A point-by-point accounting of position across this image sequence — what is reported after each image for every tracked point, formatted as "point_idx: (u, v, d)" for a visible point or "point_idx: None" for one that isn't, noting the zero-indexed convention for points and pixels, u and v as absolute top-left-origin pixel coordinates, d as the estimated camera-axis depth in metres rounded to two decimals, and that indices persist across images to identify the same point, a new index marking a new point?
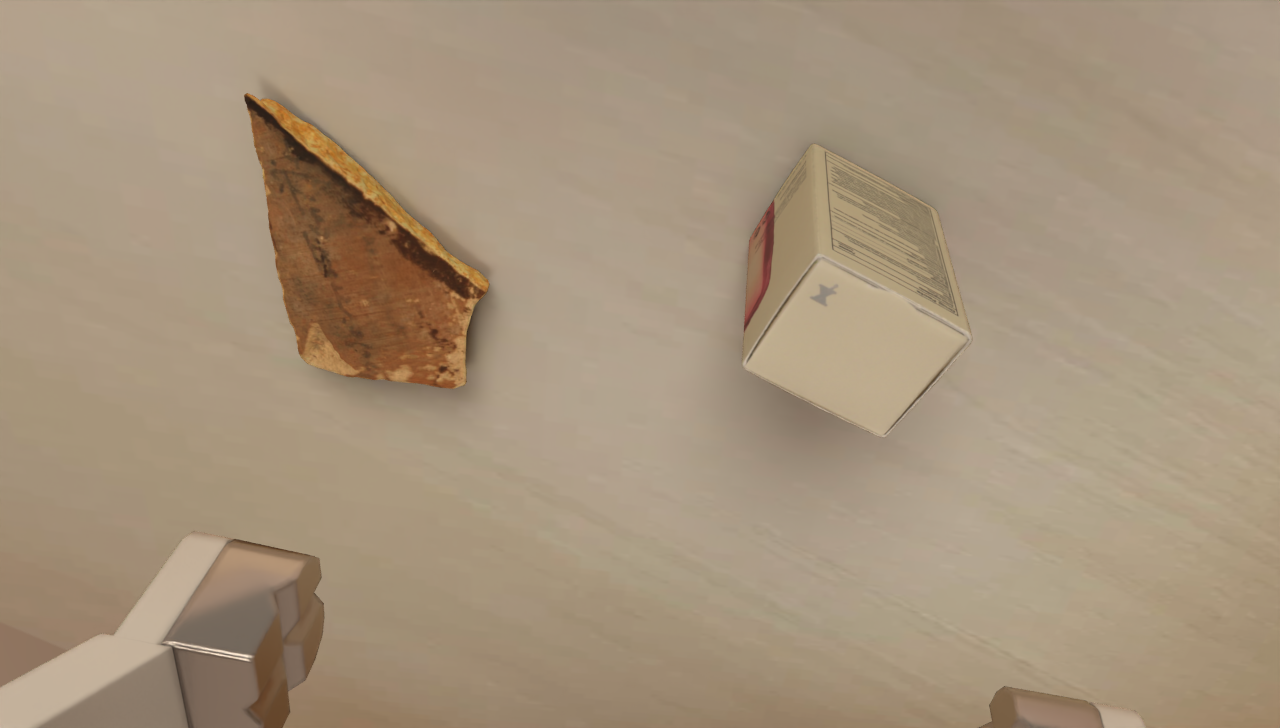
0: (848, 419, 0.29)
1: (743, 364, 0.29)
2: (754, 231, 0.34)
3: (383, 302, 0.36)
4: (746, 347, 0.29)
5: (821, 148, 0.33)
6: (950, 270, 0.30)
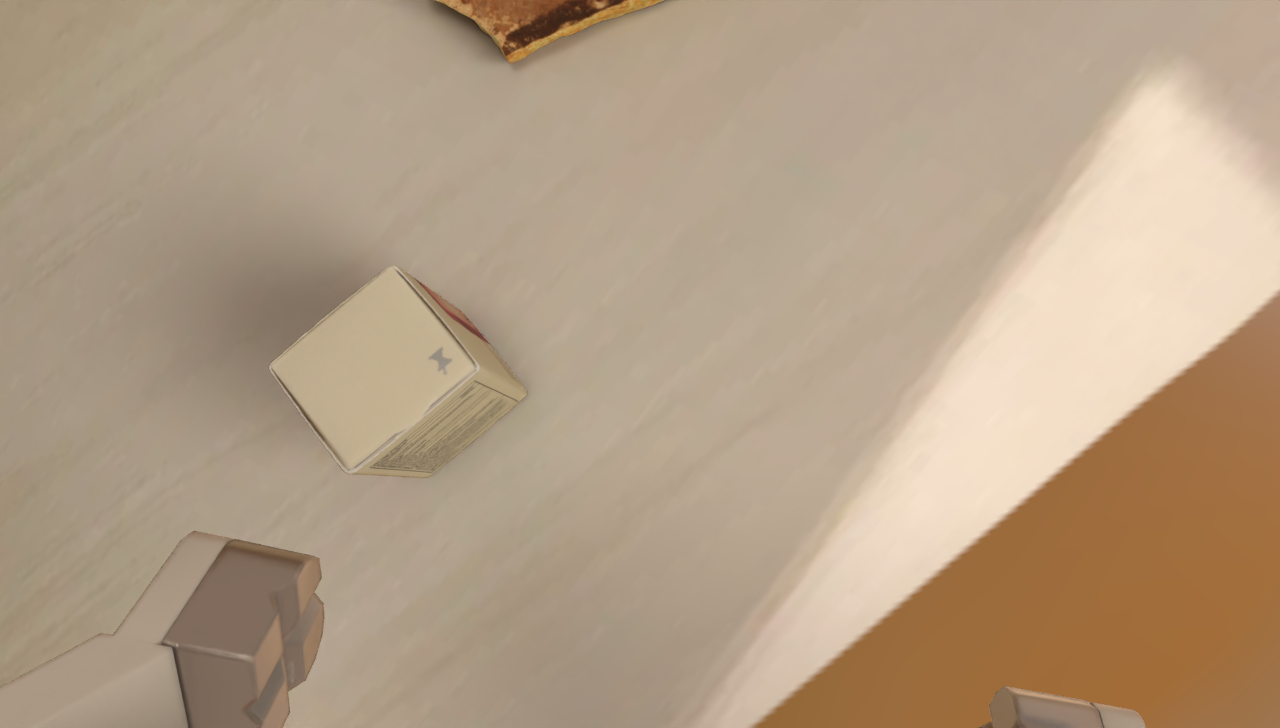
0: (300, 341, 0.30)
1: (394, 266, 0.30)
2: None
3: None
4: (407, 275, 0.30)
5: (521, 399, 0.37)
6: (393, 473, 0.33)
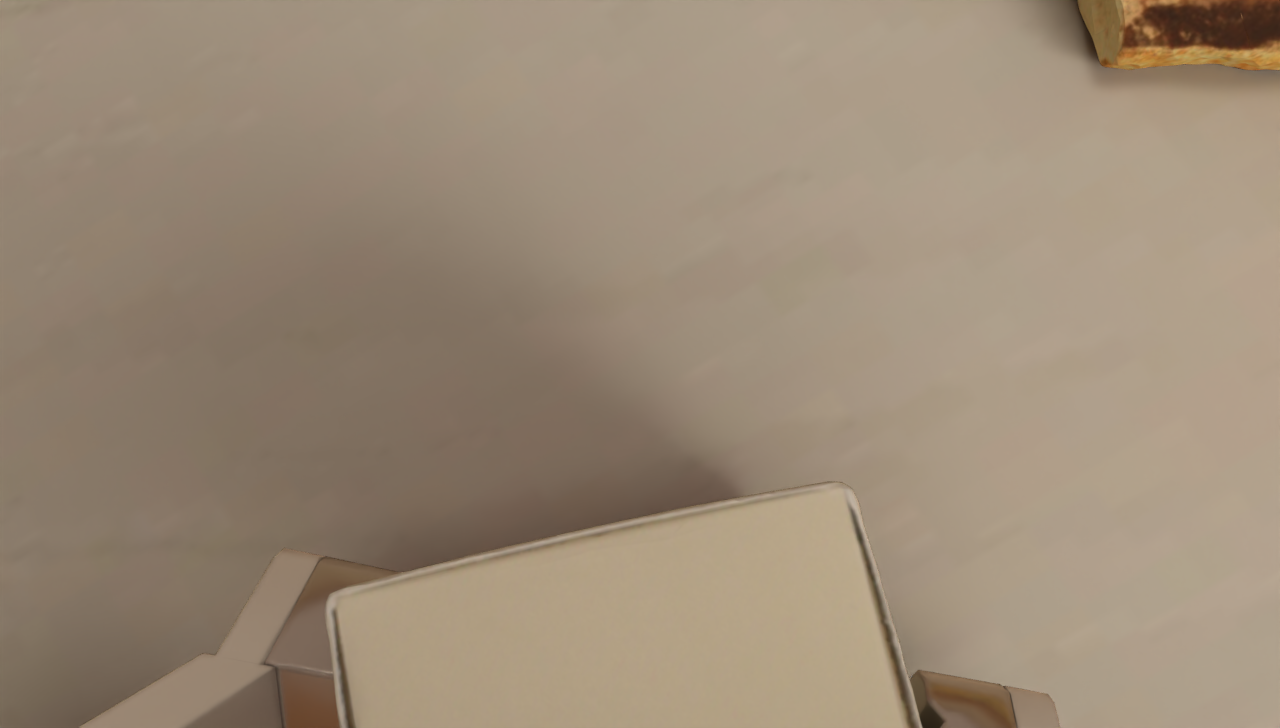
0: (460, 568, 0.09)
1: (850, 493, 0.09)
2: None
3: None
4: None
5: None
6: None
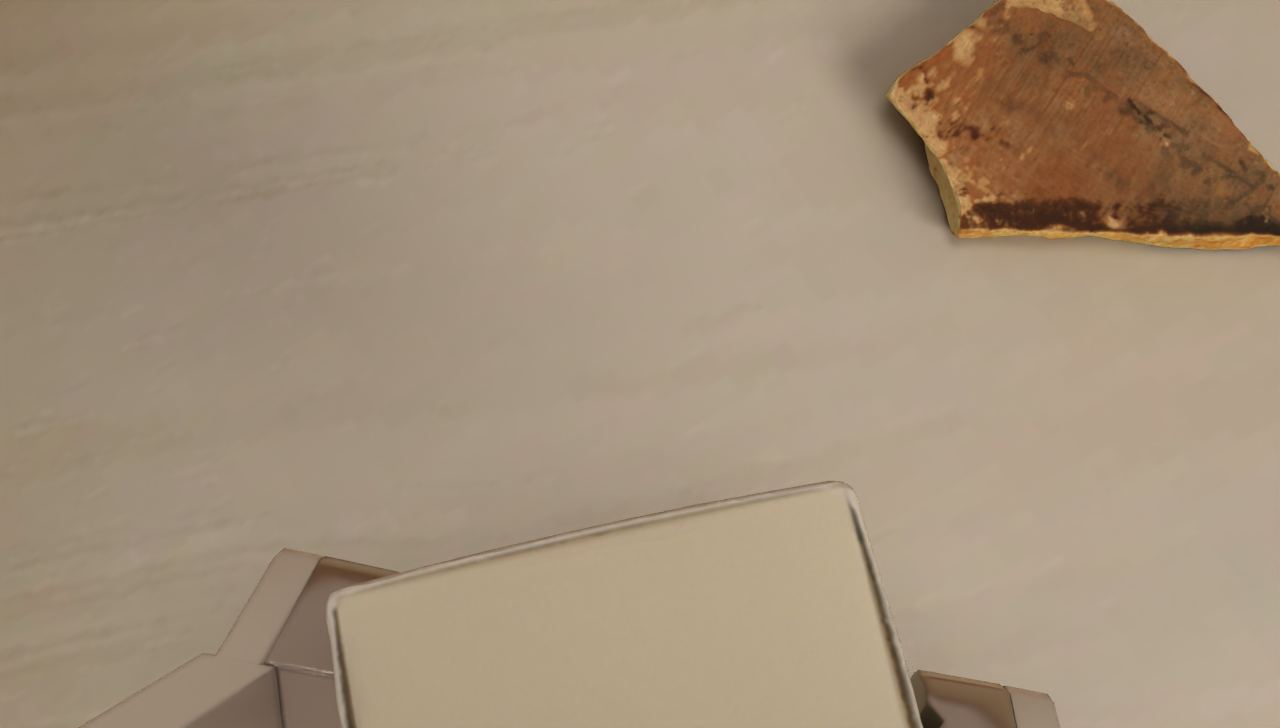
0: (460, 568, 0.09)
1: (851, 493, 0.09)
2: None
3: (1052, 123, 0.27)
4: None
5: None
6: None
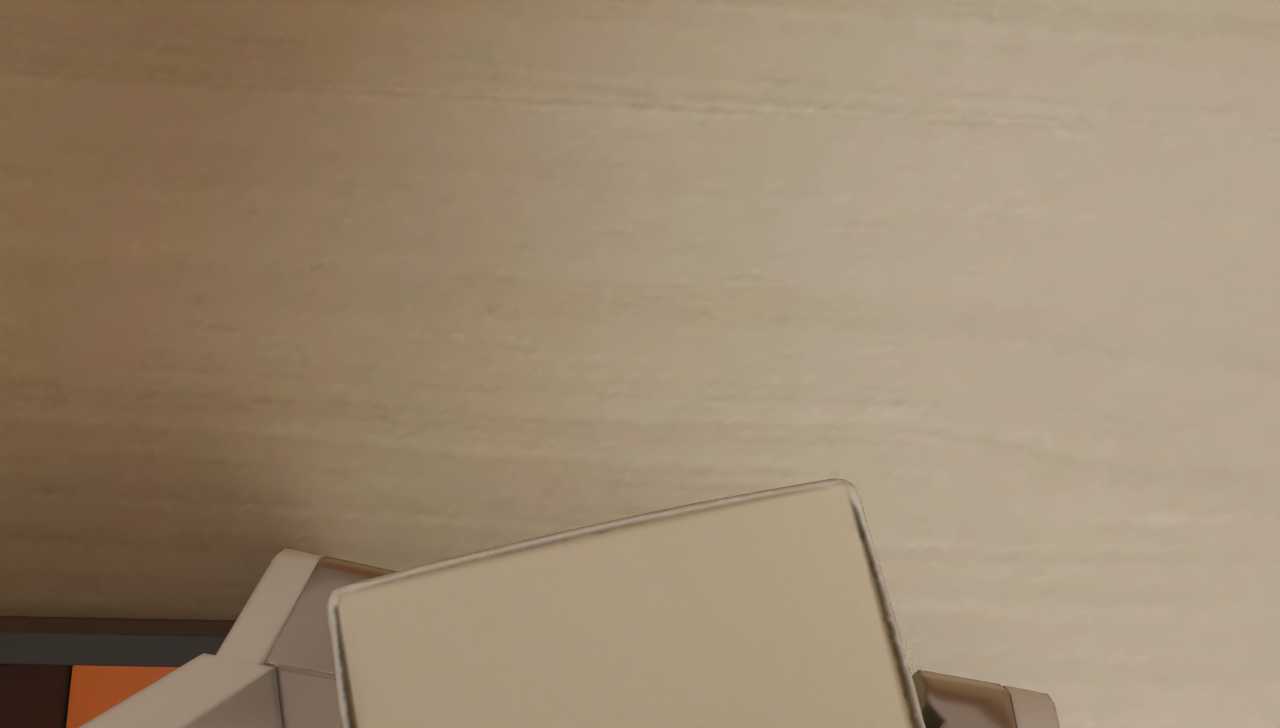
0: (462, 566, 0.09)
1: (852, 490, 0.09)
2: None
3: None
4: None
5: None
6: None
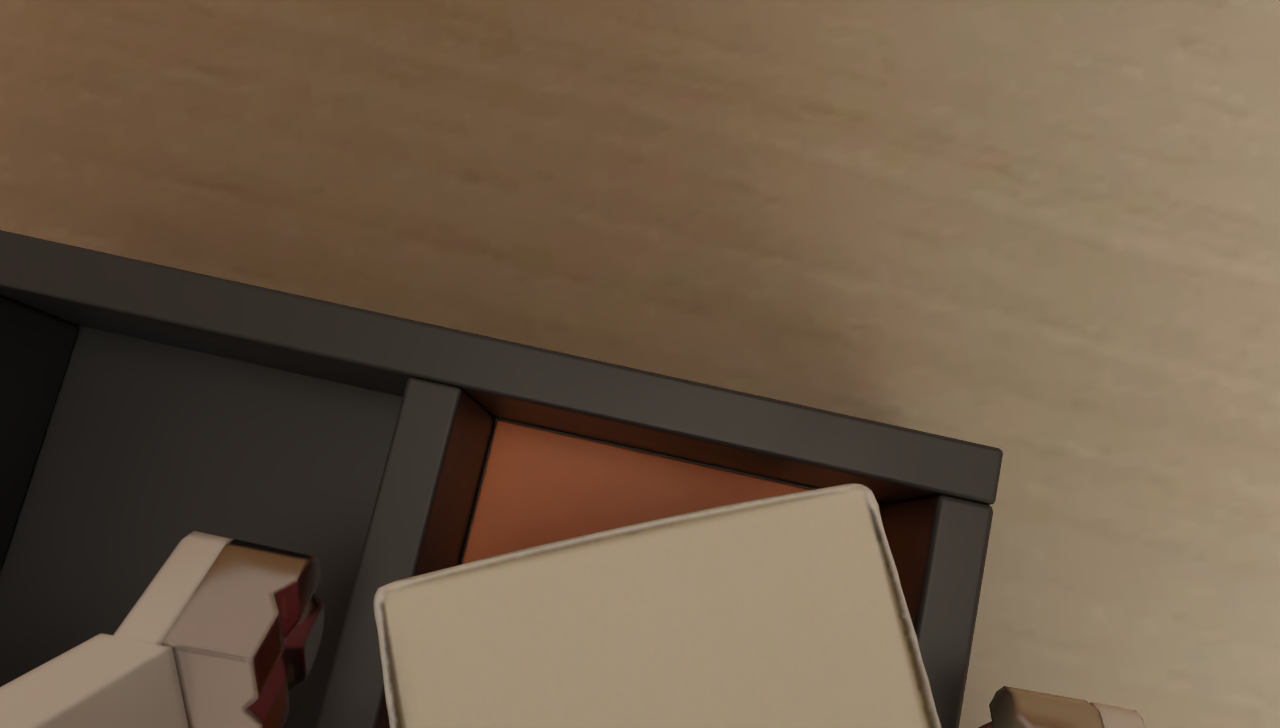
0: (501, 564, 0.10)
1: (869, 494, 0.10)
2: None
3: None
4: None
5: None
6: None
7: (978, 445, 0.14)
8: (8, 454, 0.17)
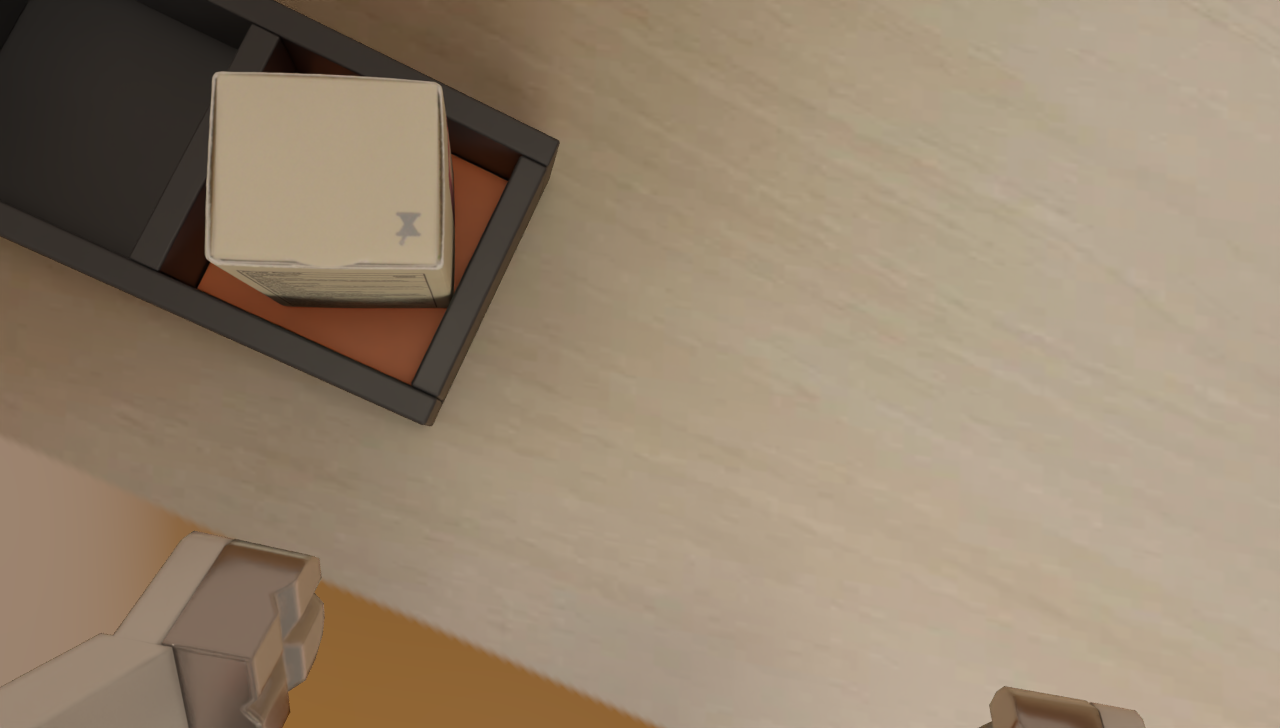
0: (273, 76, 0.22)
1: (439, 87, 0.22)
2: None
3: None
4: (444, 106, 0.23)
5: (441, 307, 0.29)
6: (255, 286, 0.25)
7: (547, 135, 0.27)
8: None
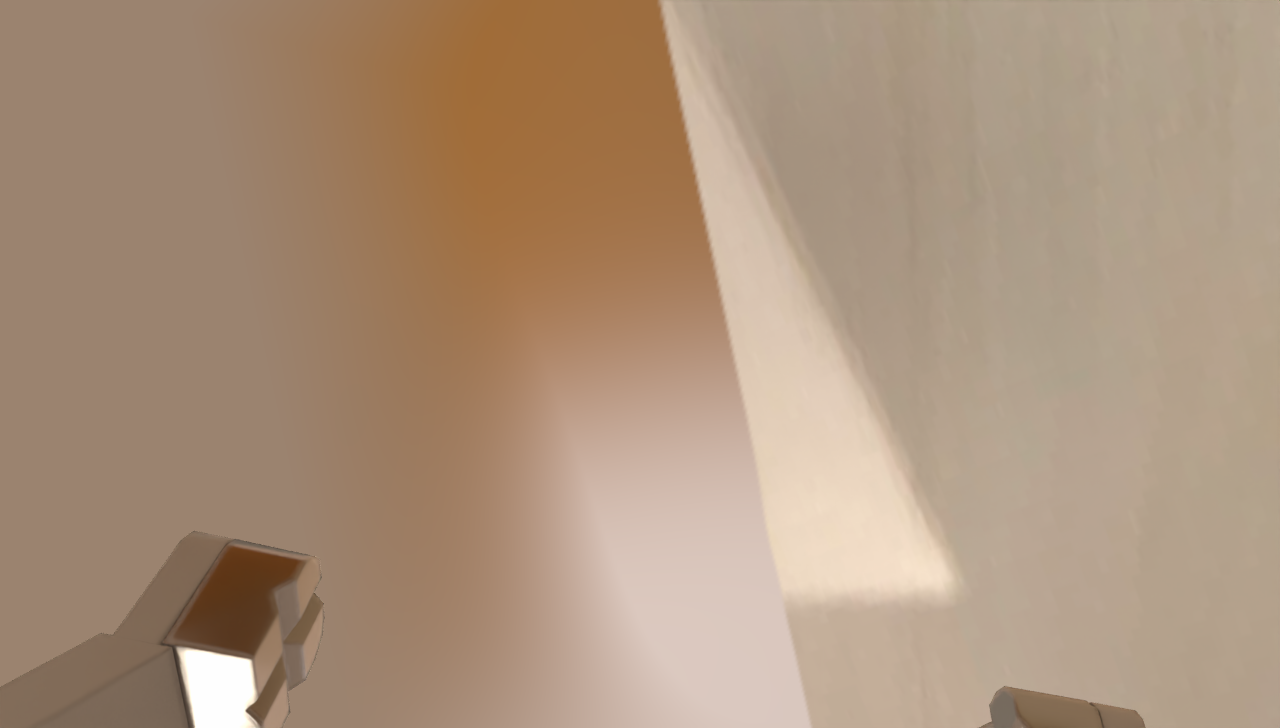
0: None
1: None
2: None
3: None
4: None
5: None
6: None
7: None
8: None
